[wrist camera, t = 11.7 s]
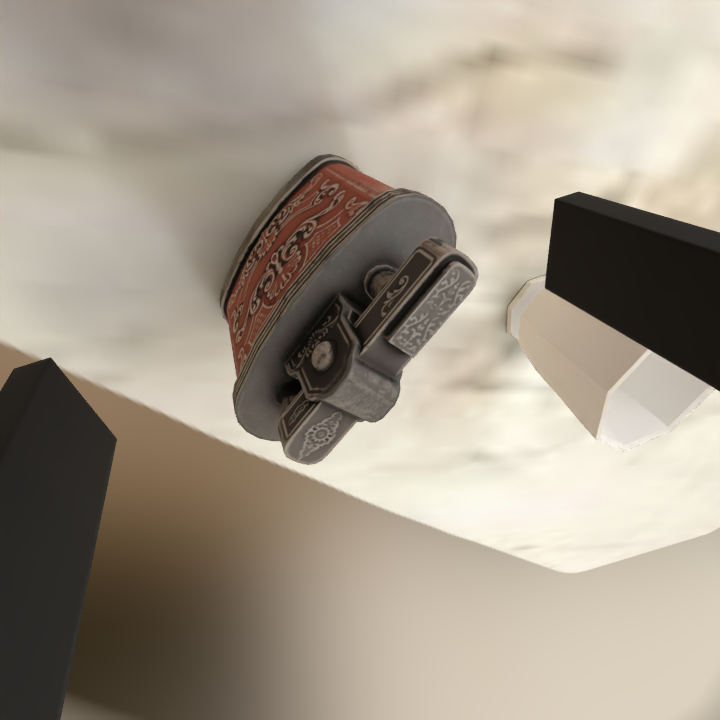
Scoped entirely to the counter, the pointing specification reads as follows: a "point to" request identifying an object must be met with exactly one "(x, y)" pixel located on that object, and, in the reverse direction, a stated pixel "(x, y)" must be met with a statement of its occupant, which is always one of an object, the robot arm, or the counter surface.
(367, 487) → the counter surface
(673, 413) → the cup
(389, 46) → the counter surface
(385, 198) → the lighter
